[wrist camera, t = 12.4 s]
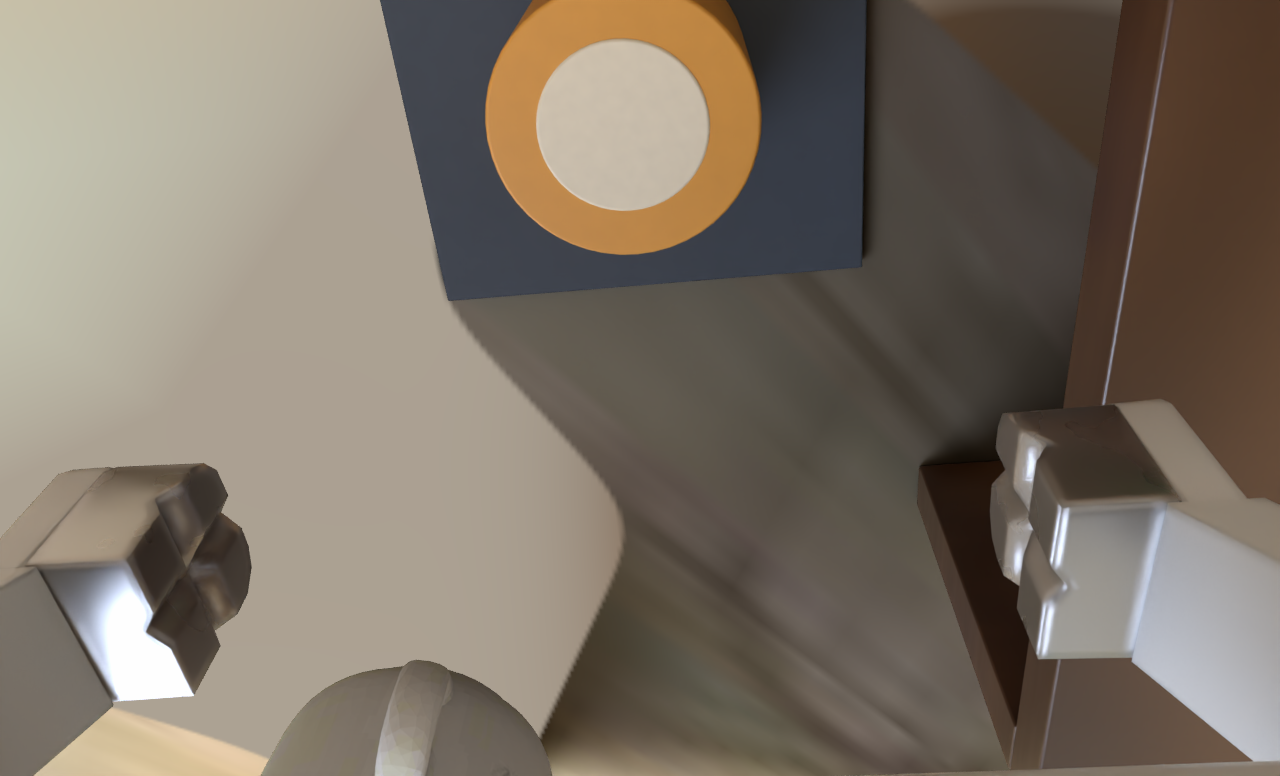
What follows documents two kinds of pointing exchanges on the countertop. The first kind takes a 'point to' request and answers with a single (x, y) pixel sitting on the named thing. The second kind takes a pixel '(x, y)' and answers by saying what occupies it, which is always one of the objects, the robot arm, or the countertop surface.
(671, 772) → the countertop surface
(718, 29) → the tape roll
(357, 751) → the teacup
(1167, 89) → the shelf
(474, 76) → the mat
